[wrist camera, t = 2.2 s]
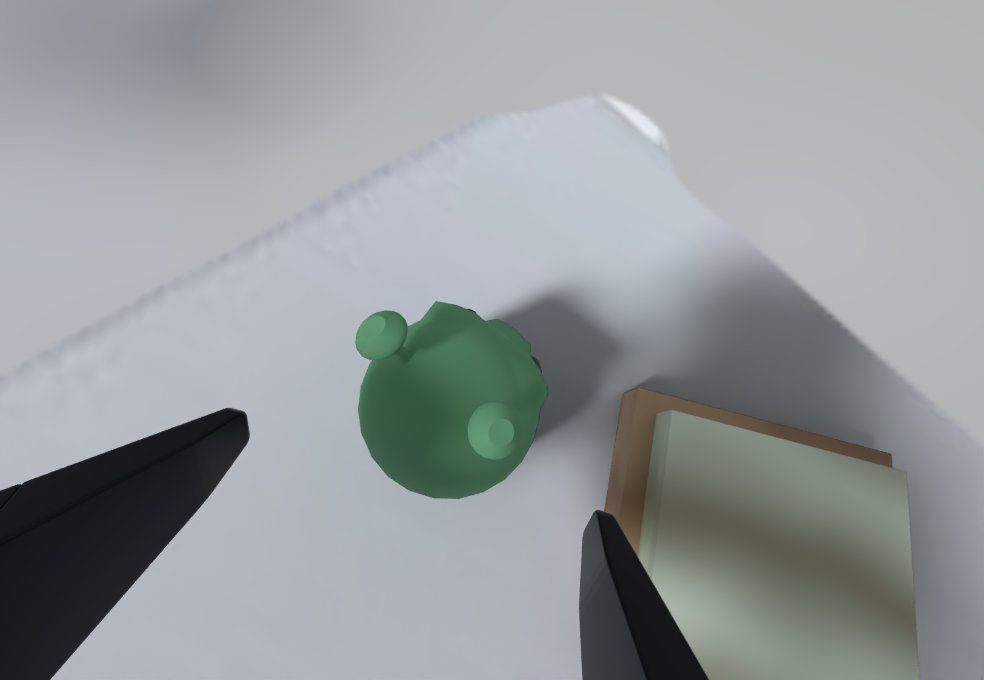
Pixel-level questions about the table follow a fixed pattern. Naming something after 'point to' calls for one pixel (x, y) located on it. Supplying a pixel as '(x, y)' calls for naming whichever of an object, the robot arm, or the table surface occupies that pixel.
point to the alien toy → (447, 399)
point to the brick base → (767, 542)
